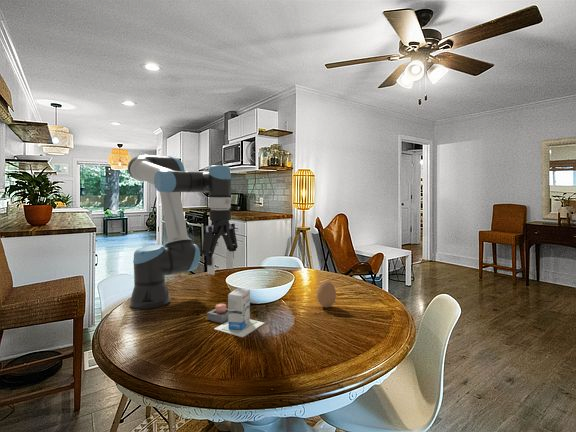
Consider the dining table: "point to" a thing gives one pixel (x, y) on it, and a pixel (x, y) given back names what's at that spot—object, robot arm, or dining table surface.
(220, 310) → the button
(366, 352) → the dining table surface
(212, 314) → the button housing
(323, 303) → the egg
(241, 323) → the ink box
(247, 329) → the sheet
